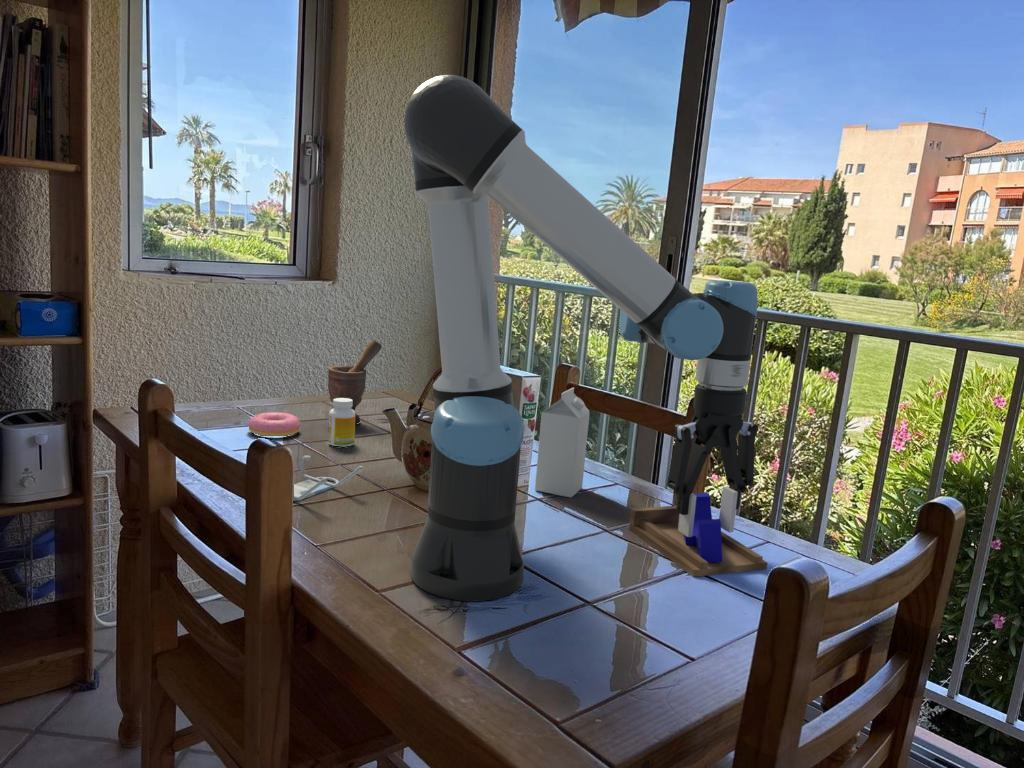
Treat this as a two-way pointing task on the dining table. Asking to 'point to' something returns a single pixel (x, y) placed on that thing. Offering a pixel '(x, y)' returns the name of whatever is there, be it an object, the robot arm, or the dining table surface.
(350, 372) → the mortar and pestle
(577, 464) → the milk carton
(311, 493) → the wall mount rack
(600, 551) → the dining table surface
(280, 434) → the doughnut
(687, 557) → the tray
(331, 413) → the supplement bottle
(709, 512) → the blue stepped block
